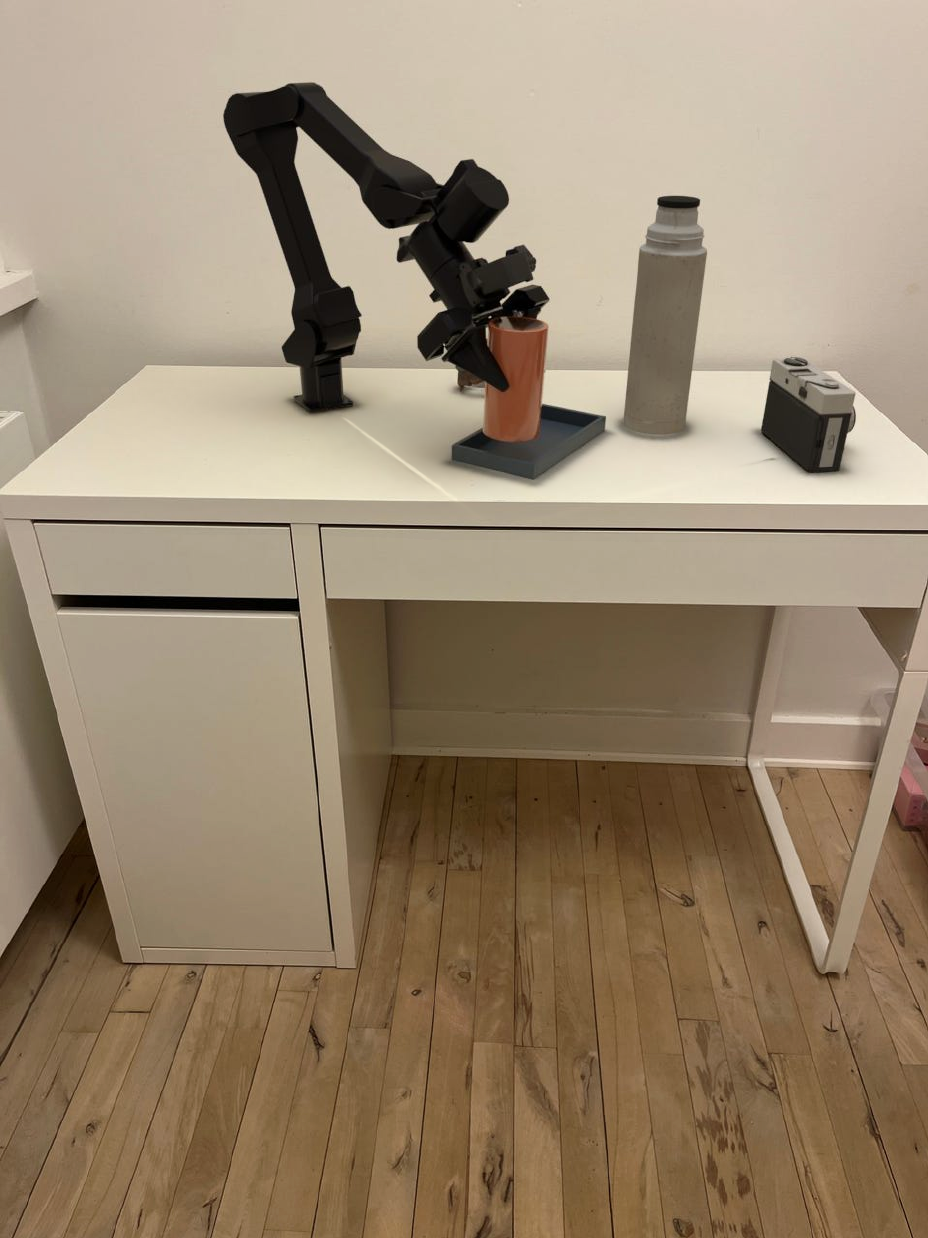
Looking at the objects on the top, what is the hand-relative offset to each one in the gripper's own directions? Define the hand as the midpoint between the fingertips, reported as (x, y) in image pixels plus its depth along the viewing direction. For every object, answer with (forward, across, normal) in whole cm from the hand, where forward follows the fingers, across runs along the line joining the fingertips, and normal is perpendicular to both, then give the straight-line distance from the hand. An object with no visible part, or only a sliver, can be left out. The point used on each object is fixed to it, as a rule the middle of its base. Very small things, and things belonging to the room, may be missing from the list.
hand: (524, 382), depth 113 cm
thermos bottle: (+12, +21, +2) cm, 24 cm away
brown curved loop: (-7, +20, +21) cm, 30 cm away
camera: (+25, +26, -11) cm, 38 cm away
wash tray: (+6, +4, +8) cm, 11 cm away
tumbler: (+3, 0, +6) cm, 7 cm away
